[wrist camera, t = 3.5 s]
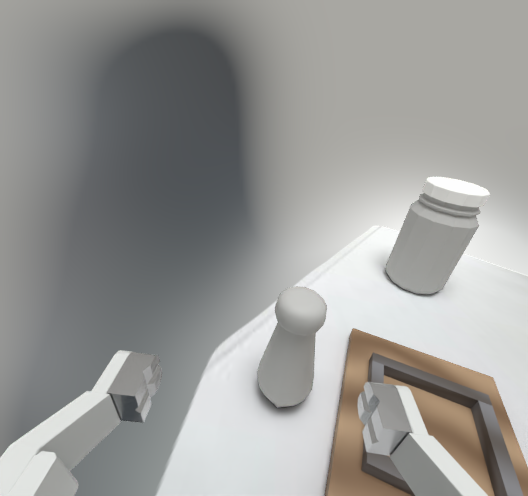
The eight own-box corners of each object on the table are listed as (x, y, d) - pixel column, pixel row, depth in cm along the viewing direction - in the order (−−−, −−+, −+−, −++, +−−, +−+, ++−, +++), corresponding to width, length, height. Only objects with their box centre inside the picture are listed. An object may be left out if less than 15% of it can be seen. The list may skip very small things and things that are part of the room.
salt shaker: (264, 358, 32) (277, 269, 25) (311, 373, 31) (339, 285, 24) (248, 406, 27) (260, 312, 20) (304, 425, 26) (337, 333, 19)
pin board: (591, 686, 15) (634, 686, 14) (319, 528, 20) (328, 515, 18) (486, 385, 31) (500, 369, 30) (349, 335, 36) (356, 320, 34)
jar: (431, 271, 52) (479, 181, 43) (448, 303, 44) (511, 201, 35) (380, 260, 54) (415, 171, 44) (386, 289, 46) (431, 188, 36)
